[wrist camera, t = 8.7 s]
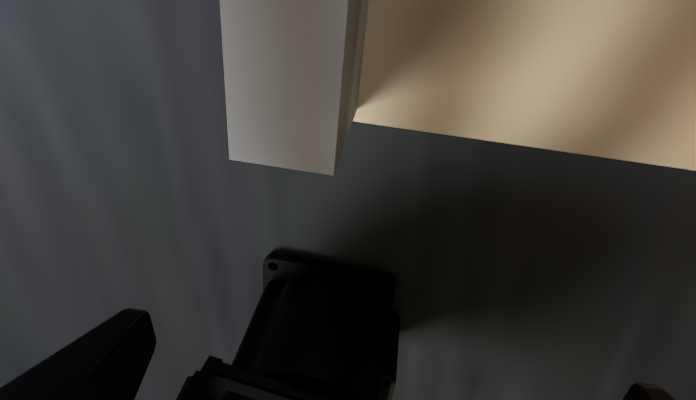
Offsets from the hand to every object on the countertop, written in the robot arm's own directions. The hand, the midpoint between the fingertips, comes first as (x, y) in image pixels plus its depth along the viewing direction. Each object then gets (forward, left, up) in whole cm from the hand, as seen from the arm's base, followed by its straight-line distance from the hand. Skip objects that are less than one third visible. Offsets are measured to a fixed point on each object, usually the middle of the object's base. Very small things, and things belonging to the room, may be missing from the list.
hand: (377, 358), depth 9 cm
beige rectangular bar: (+7, +3, -11) cm, 14 cm away
